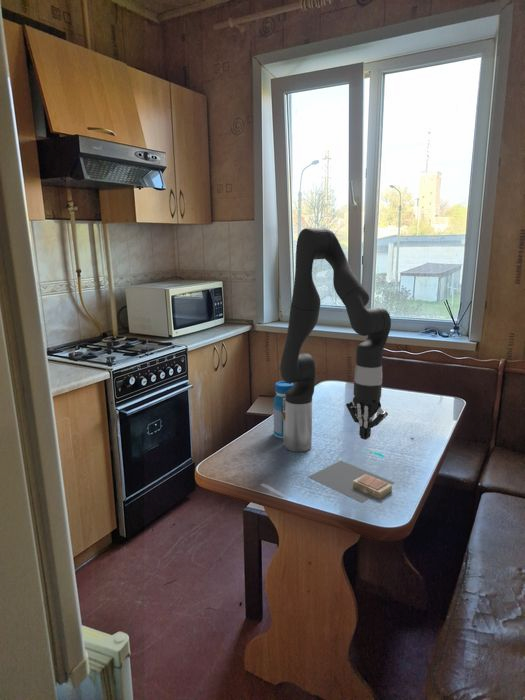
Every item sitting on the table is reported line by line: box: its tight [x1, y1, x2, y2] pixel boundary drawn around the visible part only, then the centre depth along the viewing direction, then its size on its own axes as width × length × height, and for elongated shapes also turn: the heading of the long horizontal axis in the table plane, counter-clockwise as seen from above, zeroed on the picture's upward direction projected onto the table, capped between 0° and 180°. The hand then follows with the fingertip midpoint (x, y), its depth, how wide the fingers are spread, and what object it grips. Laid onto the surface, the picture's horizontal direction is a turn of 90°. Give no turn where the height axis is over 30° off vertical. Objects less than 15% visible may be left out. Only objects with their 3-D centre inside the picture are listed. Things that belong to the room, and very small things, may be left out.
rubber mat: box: [307, 460, 395, 504], centre depth 139 cm, size 20×16×1 cm
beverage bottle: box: [272, 380, 295, 439], centre depth 173 cm, size 8×8×20 cm
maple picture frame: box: [353, 474, 393, 500], centre depth 134 cm, size 2×6×9 cm
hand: (364, 438), depth 133 cm, fingers closed
